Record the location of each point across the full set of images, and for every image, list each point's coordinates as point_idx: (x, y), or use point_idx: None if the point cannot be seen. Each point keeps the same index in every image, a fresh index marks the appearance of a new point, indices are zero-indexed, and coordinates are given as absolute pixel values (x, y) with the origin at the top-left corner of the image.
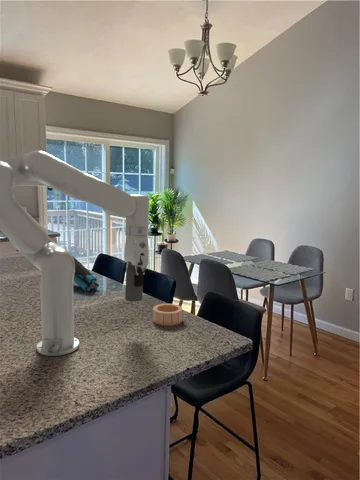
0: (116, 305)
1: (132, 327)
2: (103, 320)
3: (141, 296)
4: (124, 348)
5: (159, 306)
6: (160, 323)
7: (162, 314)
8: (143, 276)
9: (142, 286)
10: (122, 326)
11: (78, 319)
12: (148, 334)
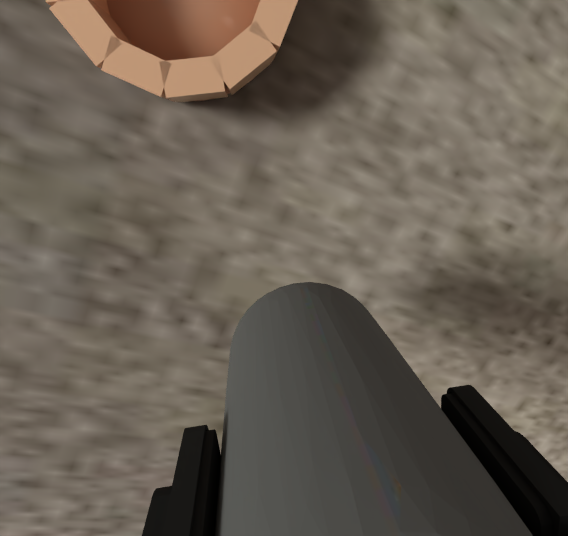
0: None
1: (226, 249)
2: (74, 363)
3: (370, 316)
4: (441, 346)
5: (89, 1)
6: (253, 77)
7: (268, 58)
8: (555, 479)
9: (396, 356)
10: (194, 294)
11: (29, 464)
12: (352, 201)
